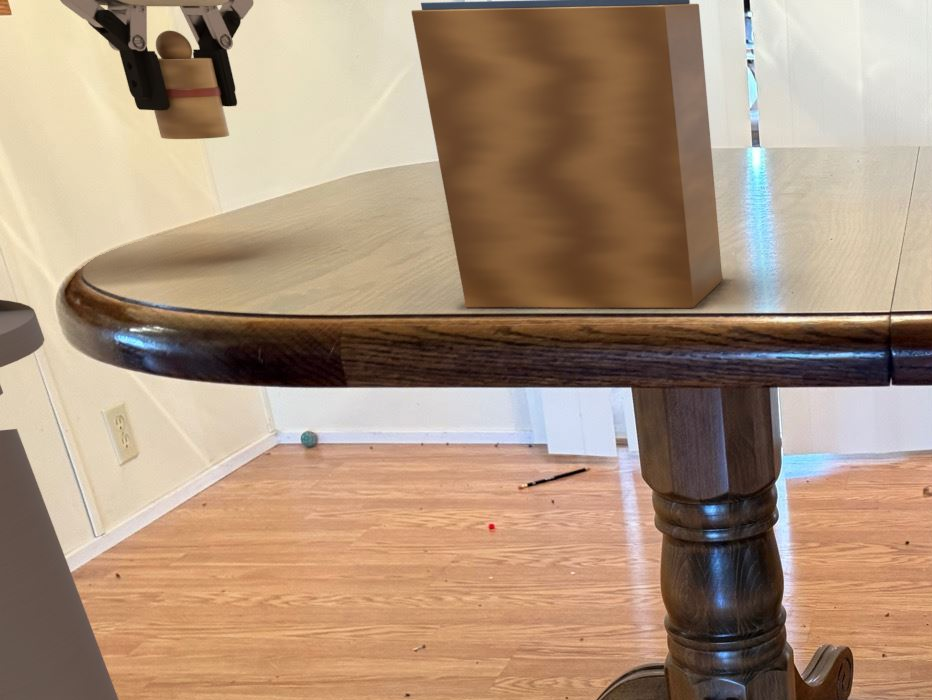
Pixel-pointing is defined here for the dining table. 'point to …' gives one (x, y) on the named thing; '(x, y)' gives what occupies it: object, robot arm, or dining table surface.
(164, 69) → the pepper mill
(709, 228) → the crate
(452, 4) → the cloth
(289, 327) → the dining table surface
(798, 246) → the dining table surface
